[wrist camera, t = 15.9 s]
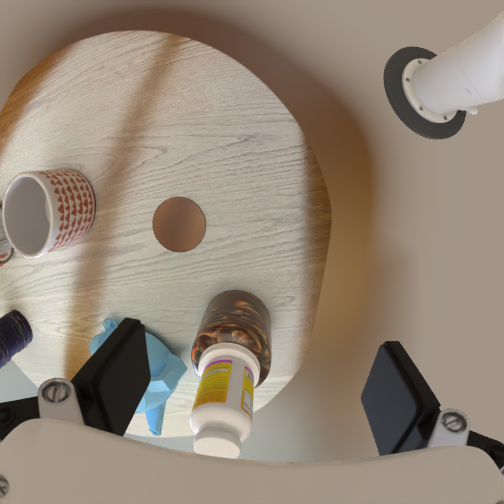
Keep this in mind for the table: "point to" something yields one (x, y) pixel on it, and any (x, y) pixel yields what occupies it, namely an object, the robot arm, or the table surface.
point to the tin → (4, 243)
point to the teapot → (152, 375)
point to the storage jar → (13, 335)
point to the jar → (235, 333)
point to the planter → (46, 210)
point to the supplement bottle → (223, 408)
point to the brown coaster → (179, 224)
